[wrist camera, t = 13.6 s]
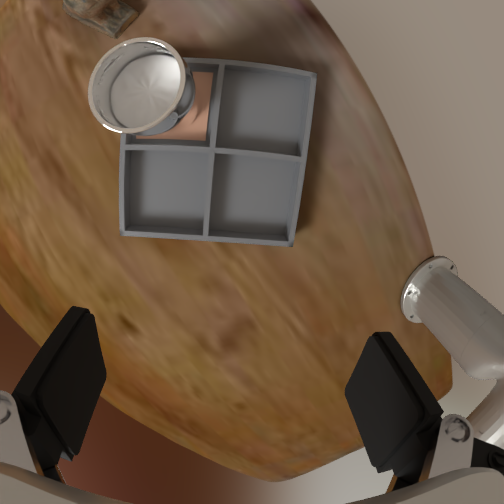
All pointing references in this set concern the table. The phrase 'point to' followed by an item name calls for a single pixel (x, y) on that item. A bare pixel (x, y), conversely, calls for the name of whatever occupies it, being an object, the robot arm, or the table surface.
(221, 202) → the gray compartment tray
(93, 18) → the brown carved statuette
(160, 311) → the table surface
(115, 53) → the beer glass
